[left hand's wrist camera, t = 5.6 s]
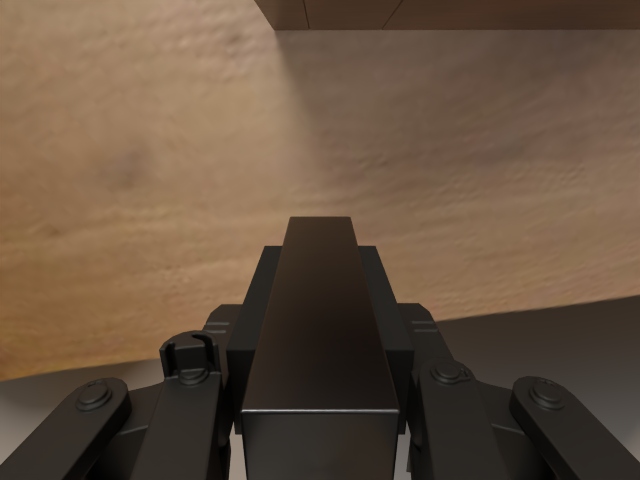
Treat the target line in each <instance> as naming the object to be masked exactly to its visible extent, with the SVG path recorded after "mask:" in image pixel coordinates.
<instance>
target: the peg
mask: <svg viewBox="0 0 640 480" xmlns="http://www.w3.org/2000/svg"><path fill="white" fill-rule="evenodd" d="M400 414H401V411H400V407H399V403H398V399H397V395H396V391H395V388H394V384H393V380H392V376H391V372H390V368H389V364H388V361H387V357H386V353H385V349H384V345H383V341H382V337H381V333H380V330H379V326H378V322H377V318H376V314H375V310H374V306H373V302H372V299H371V295H370V291H369V287H368V283H367V279H366V275H365V271H364V268H363V264H362V260H361V256H360V252H359V248H358V244H357V240H356V237H355V233H354V229H353V225H352V221H351V218H350V217H290V219H289V223H288V227H287V231H286V235H285V239H284V242H283V246H282V250H281V254H280V258H279V262H278V265H277V269H276V273H275V277H274V281H273V285H272V289H271V292H270V296H269V300H268V304H267V308H266V312H265V316H264V319H263V323H262V327H261V331H260V335H259V339H258V343H257V346H256V350H255V354H254V358H253V362H252V366H251V370H250V373H249V377H248V381H247V385H246V389H245V393H244V397H243V400H242V404H241V408H240V420H241V430H242V439H243V449H244V458H245V468H246V477H247V480H394V470H395V461H396V452H397V442H398V433H399V423H400Z"/></svg>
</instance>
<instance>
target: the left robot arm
mask: <svg viewBox="0 0 640 480" xmlns="http://www.w3.org/2000/svg"><path fill="white" fill-rule="evenodd" d="M358 248H359V252H360V256H361V260H362V264H363V268H364V271H365V275H366V279H367V283H368V287H369V291H370V295H371V299H372V302H373V306H374V310H375V314H376V318H377V322H378V326H379V330H380V333H381V337H382V341H383V345H384V349H385V353H386V357H387V361H388V364H389V368H390V372H391V376H392V380H393V384H394V388H395V391H396V395H397V399H398V403H399V407H400V411H401V414H400V423H399V433H398V434H405V430H406V421H407V422H408V426H409V430H410V434H411V438H410V446H409V455H408V462H407V472H411V480H640V462H639V461H638V460H637V459H636V458H635V457H634V456H633V455H632V454H631V453H630V452H629V451H628V450H627V449H626V448H625V447H624V446H623V445H622V444H621V443H620V442H619V441H618V440H617V439H616V438H615V437H614V436H613V435H612V434H611V433H610V432H609V431H608V430H607V429H606V428H605V427H604V425H603V424H602V423H601V422H600V421H599V420H598V419H597V418H596V417H595V416H594V415H593V414H592V413H591V412H590V411H589V410H588V409H587V408H586V407H585V406H584V405H583V404H582V403H581V402H580V401H579V400H578V399H577V398H576V397H575V396H574V395H573V394H572V393H571V392H569V391H568V390H567V389H566V388H564V387H563V386H561V385H559V384H557V383H555V382H553V381H551V380H547V379H544V378H541V377H532V376H526V377H522V378H519V379H518V380H517V381H516V382H515V383H514V385H513V389H512V390H511V389H506V388H502V387H498V386H493V385H489V384H486V383H483V382H480V381H478V380H476V378H475V376H474V375H473V373H472V372H471V370H470V369H468V368H467V367H466V366H465V365H464V364H462V363H460V362H458V361H455V360H454V358H453V356H452V354H451V353H450V351H449V349H448V347H447V345H446V343H445V341H444V339H443V337H442V335H441V333H440V332H439V329H438V327H437V326H436V324H435V322H434V320H433V318H432V316H431V314H430V312H429V311H428V310H427V309H425V308H424V307H423V306H422V305H420V304H419V303H397V302H396V299H395V296H394V294H393V291H392V288H391V286H390V283H389V281H388V278H387V275H386V273H385V270H384V267H383V265H382V262H381V259H380V257H379V254H378V252H377V249H376V246H358ZM281 250H282V246H265V247H264V249H263V252H262V255H261V257H260V260H259V263H258V265H257V268H256V271H255V273H254V276H253V279H252V281H251V284H250V286H249V289H248V292H247V294H246V297H245V300H244V302H243V304H221V305H220V306H219V307H218V308H216V309H215V310H214V311H213V312H211V314H210V316H209V318H208V320H207V322H206V325H204V327H203V329H202V331H197V330H193V331H188V332H183V333H180V334H178V335H176V336H173V337H172V338H170V339H169V340H167V341H166V342H165V343H164V344H163V345H162V346H161V348H160V349H159V352H160V357H161V362H162V367H163V372H164V377H165V379H164V381H163V382H161V383H159V384H156V385H153V386H149V387H144V388H140V389H136V390H131V391H128V388H127V384H126V383H125V382H124V381H123V380H121V379H117V378H102V379H98V380H95V381H92V382H89V383H87V384H85V385H83V386H81V387H79V388H77V389H76V390H75V391H73V392H72V393H71V394H70V395H68V396H67V397H66V398H65V399H64V400H63V401H62V402H61V403H60V404H59V405H58V406H57V407H56V408H55V410H53V411H52V413H51V414H50V415H49V416H48V417H47V418H46V419H45V420H44V421H43V422H42V423H41V424H40V425H39V426H38V427H37V428H36V429H35V430H34V431H33V432H32V433H31V434H30V435H29V436H28V437H27V438H26V439H25V440H24V441H23V442H22V443H21V444H20V446H19V447H18V448H17V449H16V450H15V451H14V452H13V453H12V454H11V455H10V456H9V457H8V458H7V459H6V460H5V461H4V462H3V463H2V464H1V465H0V480H229V469H230V457H231V446H230V438H229V436H230V432H231V429H232V425H233V421H234V428H235V434H242V430H241V420H240V408H241V404H242V400H243V397H244V393H245V389H246V385H247V381H248V377H249V373H250V370H251V366H252V362H253V358H254V354H255V350H256V346H257V343H258V339H259V335H260V331H261V327H262V323H263V319H264V316H265V312H266V308H267V304H268V300H269V296H270V292H271V289H272V285H273V281H274V277H275V273H276V269H277V265H278V262H279V258H280V254H281Z"/></svg>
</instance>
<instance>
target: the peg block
mask: <svg viewBox="0 0 640 480" xmlns="http://www.w3.org/2000/svg"><path fill="white" fill-rule="evenodd" d="M254 1H255V2H256V4H257V5H258V7H259V8H260V10H261V11H262V13H263V14H264V16H265V17H266V19H267V20H268V22H269V23H270V25H271V26H272V28H273V29H274V30H309V29H310V30H381V29H382V30H565V29H640V0H254Z"/></svg>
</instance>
